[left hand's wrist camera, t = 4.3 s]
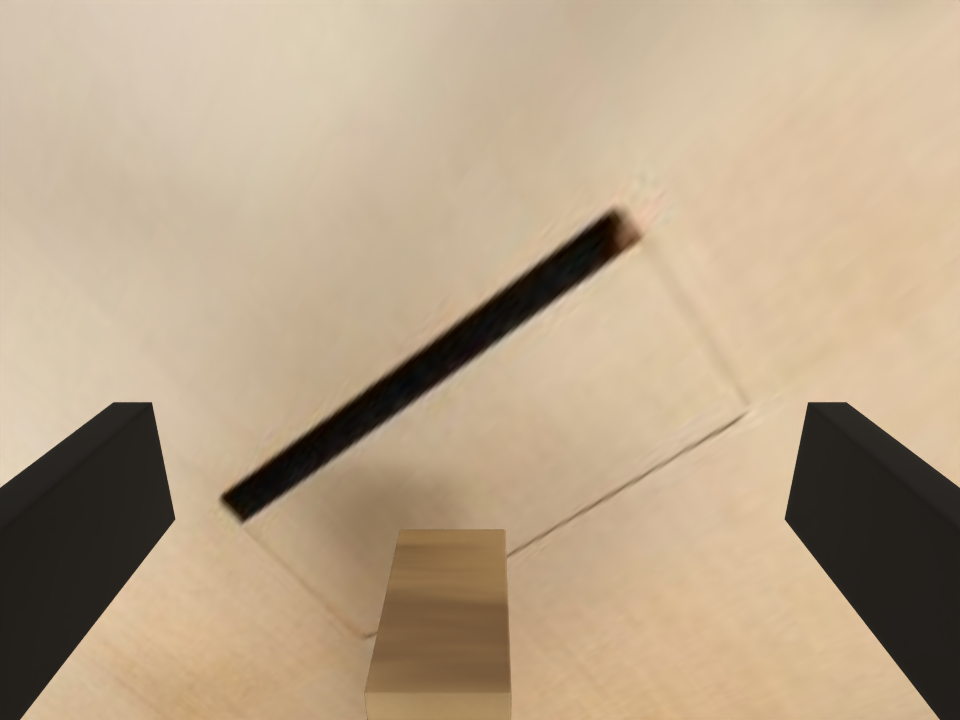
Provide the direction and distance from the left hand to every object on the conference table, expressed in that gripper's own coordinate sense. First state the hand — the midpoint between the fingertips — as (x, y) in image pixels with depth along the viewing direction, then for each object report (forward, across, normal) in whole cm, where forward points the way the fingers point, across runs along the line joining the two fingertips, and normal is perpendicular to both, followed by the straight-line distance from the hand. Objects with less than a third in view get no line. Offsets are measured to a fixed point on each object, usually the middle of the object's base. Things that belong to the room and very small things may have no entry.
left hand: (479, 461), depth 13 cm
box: (+18, -1, -25) cm, 31 cm away
